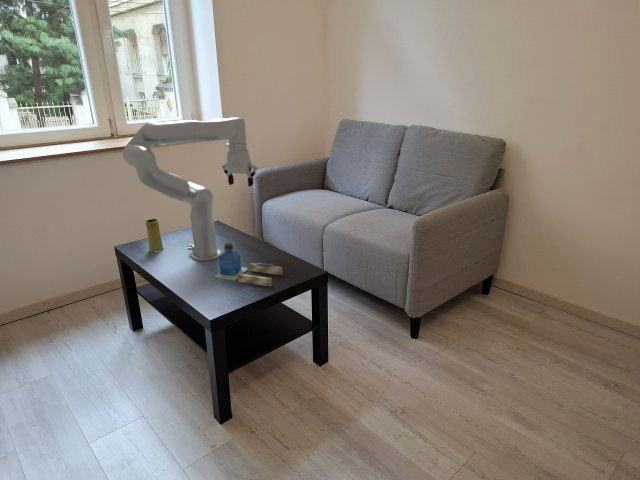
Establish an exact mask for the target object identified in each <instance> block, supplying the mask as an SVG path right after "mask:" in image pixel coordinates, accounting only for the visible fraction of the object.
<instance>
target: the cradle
mask: <svg viewBox="0 0 640 480" xmlns="http://www.w3.org/2000/svg"><path fill="white" fill-rule="evenodd" d="M283 270H284V269H283V267H282V266H276V264H271V263H270V264H269V263H263V262H256V263H253V262H249V271H250V272H256V273H261V274H262V273H264V274H269V275H276V276H282V275H283V273H284V272H283ZM237 276H238V279H237V282H239V283H245V284H251V285H259V286H265V287H272V286H273V280H272V279H273V278H272V277H265V276H259V275H252V274H248V273H247V274H246V273H243V274H240V273H239V274H238V275H237Z"/></svg>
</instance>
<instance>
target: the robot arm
mask: <svg viewBox="0 0 640 480" xmlns="http://www.w3.org/2000/svg"><path fill="white" fill-rule="evenodd" d="M222 140H223V141H224V140H228V143H226V147H228V149H227V153H226V154H227V155H226V163H225V164H223V165H222V166H221V169H222V170H223V172H224V174H226V177H227V181H228V186H232V185H234V184H235V182H234V181H235V180H234V175H233V174H240V175H241V174H242V175H245V174H246V175H247V177H248V178H247V186H248V188H250V187H252V186H253V184H254V177H255V176H256V174H257V171H258V169H259V168H258V167H257V166H255V165H254V164H253V163H252V161H251V156H250V153H249V152H250V151H249V149H247V147H248V146H247V135H246V121H245V119H244V118H243V117H240V116H237V117H236V116H234V117H229V118H222V117H221V118H219V117H216V118H215V117H214V118H212V119H211V120H210V121H202V120H201V121H200V120H193V119H192V120H189V119H188V120H176V121H175V120H174V121H164V122H158V121H148V122H146V123H145V124H143V125H142V126H141V127H140V129H138V131H137V132H136V133H135V134H134V136H133V137H132V138H131V139H130V140H129V141H128V142H127V144H126V145H125V147H124V149H123V151H122V157H123V160H124V162H125V163H127V164H128V165H130V166H132V167H134V168H135V171H136V175H137V178H138V179H139V181H140V182H141V183H142V184H143V185H144V186H146V187H148V188H150V189H151V190H155V191H156V192H159V193H161V194H163V195H164V196H167V197H169V198H172V199H175V200H177V201H179V202H182V203H185V204H187V205H188V206H190V207H191V208H190V209H191V210H190V223H191V232H192V233H191V234H192V240H193V243H192V244H191V243H189V244H188V245H187V250H188V251H192V253H191V258H192V259H193V260H195V261H199V262H205V261H211V260H215V259H217V258H219V257H221V255H222V253H221V249H218V247H217V239H216V230H215V228H216V227H215V221H214V218H215V217H214V195H213V193H212V191H211V190H210V189H209V188H208V187H206V186H204V185H201V184H198V183H195V182H193V181H190V180H188V179H186V178H184V177H182V176H180V175H178V174H175V173H173V172H172V173H171V172H169V171H166V170H164V169H163V168H161V167H159V166H158V164H157V163H158V162H157V158H156V155H155V153H154V151H152V150H153V149H154V147H155V146H169V145H177V144H186V143H198V142H199V143H200V142H212V141H222ZM252 170H253V171H252Z"/></svg>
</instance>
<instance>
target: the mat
mask: <svg viewBox="0 0 640 480" xmlns="http://www.w3.org/2000/svg"><path fill="white" fill-rule="evenodd" d="M248 270H249V268H248V267H244V266H241V270H240V271H239V272H238V273H237V274H236V275H235V276H229V275H221V274H220V272H218V273H217V274H216V275H214V278H215V279H221V280H227V281H234V282H235V281H237V280H238V276H237V275H238V274H239V273H240V274H245V273H246V272H247V271H248Z"/></svg>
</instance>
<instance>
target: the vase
mask: <svg viewBox="0 0 640 480" xmlns="http://www.w3.org/2000/svg"><path fill="white" fill-rule="evenodd" d="M145 226H146V231H147V239H148V240H147V242H148V250H150V251H149V252H151V251H159V250H161V251H163V250H164V247H163V241H162V237H161V230H160V225H159V220H158V219H157V218H149V219H146V220H145ZM162 249H163V250H162ZM159 252H160V251H159Z"/></svg>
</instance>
